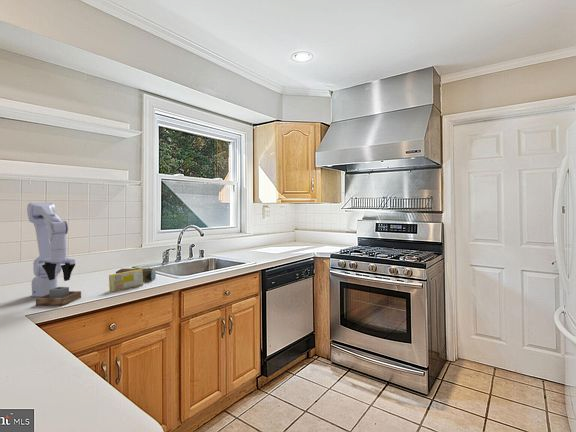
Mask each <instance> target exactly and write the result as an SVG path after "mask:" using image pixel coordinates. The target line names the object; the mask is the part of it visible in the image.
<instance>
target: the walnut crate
mask: <svg viewBox="0 0 576 432" xmlns="http://www.w3.org/2000/svg"><path fill="white" fill-rule="evenodd" d="M79 299H82V291H81V290H80V291H79V290H76V291H75V290H69V296H67V297H64V298H49V294H47V295H44V296H42V297H36V298H35V307H44V306H45V307H46V306H47V307H56V306H57V307H60V306H61V307H62V306H66V305H69V304H70V303H73V302H75V301H77V300H79Z"/></svg>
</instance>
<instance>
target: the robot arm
mask: <svg viewBox="0 0 576 432" xmlns="http://www.w3.org/2000/svg"><path fill="white" fill-rule="evenodd" d="M55 209H56V206H55V204H54V203H53V202H29V203H27V207H26V211H27V212H26V213H27V217H28V222H29V223H32V224H33V226H34V229H35V236H36V241H37V249H38V254H39V256H38V257H36V258H35V259H34V260H33V263H32V264H33V266H32V267H33V270H32V271H33V275H34V277H33V278H32V281H31V295H30V297H36V298H39V297H42V296H44V295H47V294H49V290H50V289H53V288H56V287H59V286H58V276H59V274H60V273H61V272H62V273H63V281H64V282H67V281H70V280H71V275H72V272H73V270H74V269H75V266H76V259H75V258H73V259H72V258H69V257H67V234H68V233H69V232H68V231H69V225H68V223H67V221H66V220H62V219H61V218H60V217H59V215H58V214H56V213H55V212H56V210H55Z"/></svg>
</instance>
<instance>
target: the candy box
mask: <svg viewBox="0 0 576 432" xmlns="http://www.w3.org/2000/svg"><path fill="white" fill-rule="evenodd" d="M139 269H140V270H134V271H128V272H123V273H117V274H116V273H111V274H108V284H109V287H108V288H109V292H115V291H120V290H125V289H126V290H127V289H131V288H135V287H139V286H143V285H144V281H143V270H142V269H143V268H139Z"/></svg>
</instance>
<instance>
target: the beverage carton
mask: <svg viewBox="0 0 576 432" xmlns="http://www.w3.org/2000/svg"><path fill="white" fill-rule="evenodd" d="M140 269H142V270H143V282H152V281H154V280H155V279H156V268H154V267H151V268H120V269H119V270H117V271H116V272H115V274H117V273H123V272H128V271H134V270H140Z"/></svg>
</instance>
